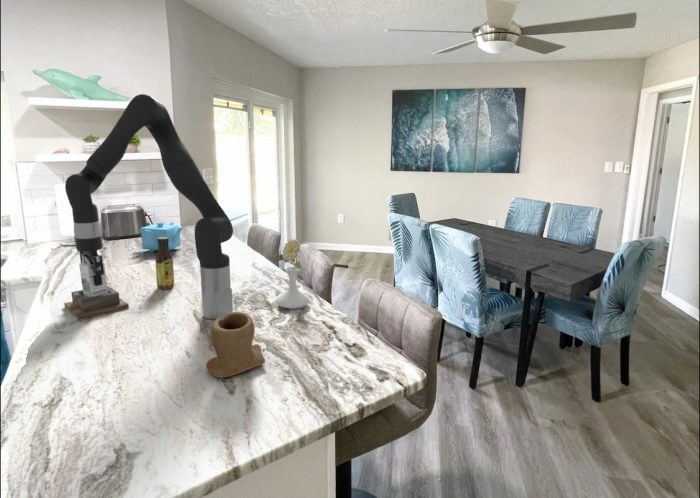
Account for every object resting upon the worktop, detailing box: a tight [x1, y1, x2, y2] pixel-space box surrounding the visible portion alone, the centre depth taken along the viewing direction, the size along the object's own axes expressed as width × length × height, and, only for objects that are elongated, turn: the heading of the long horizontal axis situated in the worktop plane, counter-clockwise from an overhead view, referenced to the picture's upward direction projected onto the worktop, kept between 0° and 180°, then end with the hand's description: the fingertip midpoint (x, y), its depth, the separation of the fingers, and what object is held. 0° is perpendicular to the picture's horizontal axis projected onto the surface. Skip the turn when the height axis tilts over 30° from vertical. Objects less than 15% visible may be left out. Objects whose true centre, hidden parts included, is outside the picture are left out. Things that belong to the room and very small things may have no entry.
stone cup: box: [205, 311, 266, 379], centre depth 109 cm, size 15×12×15 cm
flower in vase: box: [276, 238, 310, 310], centre depth 151 cm, size 13×11×25 cm
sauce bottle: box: [155, 237, 175, 291], centre depth 166 cm, size 6×6×20 cm
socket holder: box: [64, 285, 130, 321], centre depth 147 cm, size 15×15×6 cm
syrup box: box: [78, 262, 108, 298], centre depth 145 cm, size 6×6×14 cm
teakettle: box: [139, 221, 186, 253], centre depth 221 cm, size 19×19×15 cm
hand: (93, 282), depth 145 cm, fingers open, 8 cm apart
